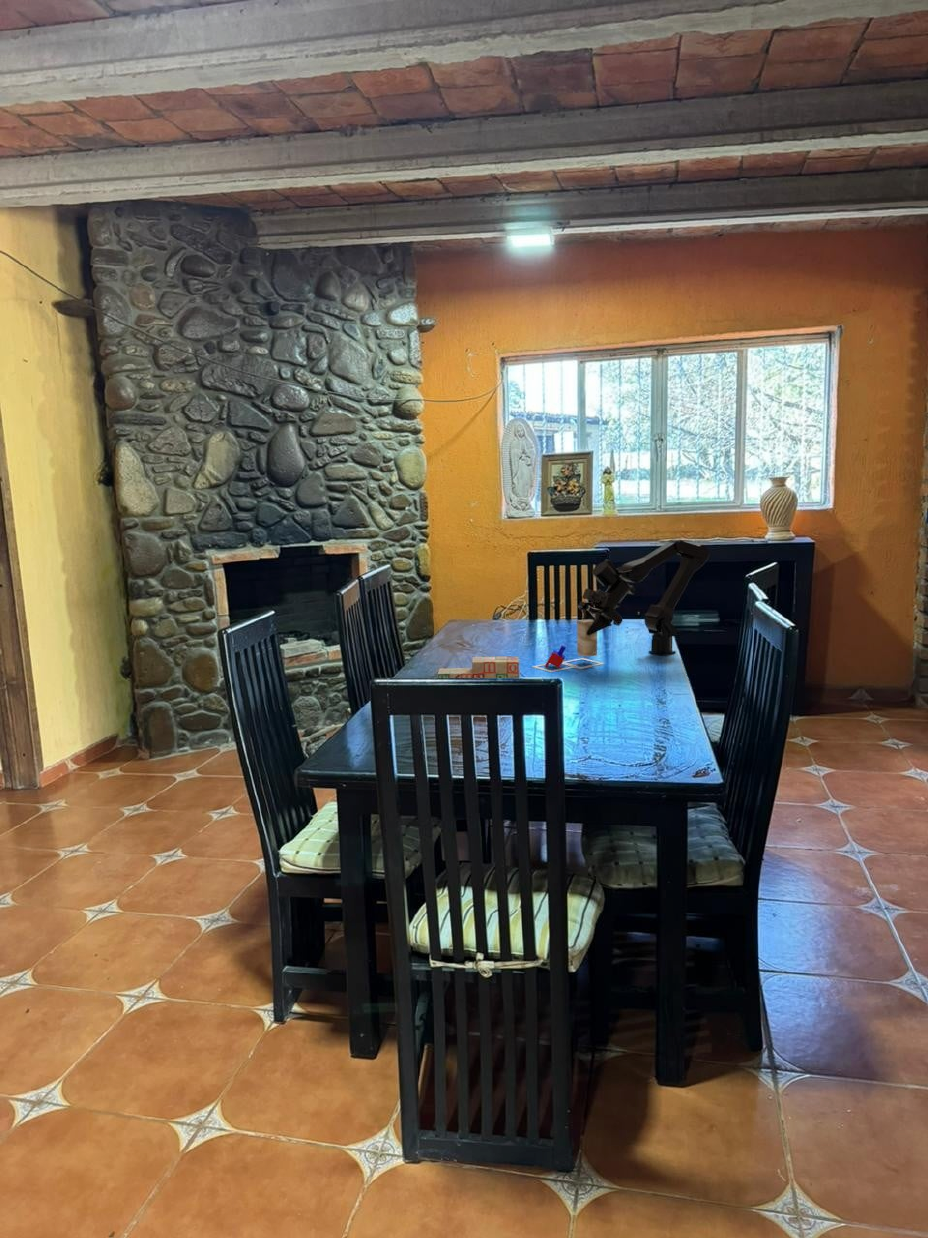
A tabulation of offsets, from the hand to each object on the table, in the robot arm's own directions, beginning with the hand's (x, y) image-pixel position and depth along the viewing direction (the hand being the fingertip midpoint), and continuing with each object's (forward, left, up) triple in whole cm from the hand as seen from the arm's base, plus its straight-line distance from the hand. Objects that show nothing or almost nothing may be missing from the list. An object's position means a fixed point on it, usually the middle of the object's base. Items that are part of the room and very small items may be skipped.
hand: (583, 633), depth 255 cm
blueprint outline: (+6, -1, -10) cm, 11 cm away
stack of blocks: (+52, +17, -10) cm, 55 cm away
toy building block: (+10, -2, -10) cm, 14 cm away
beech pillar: (-1, 0, -7) cm, 7 cm away
